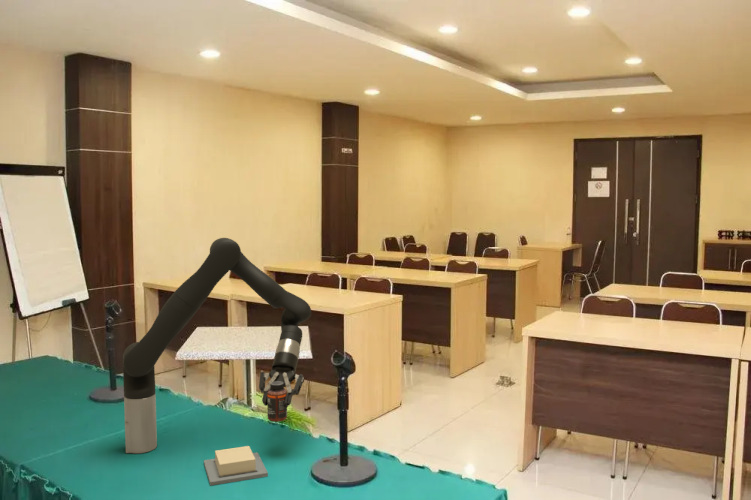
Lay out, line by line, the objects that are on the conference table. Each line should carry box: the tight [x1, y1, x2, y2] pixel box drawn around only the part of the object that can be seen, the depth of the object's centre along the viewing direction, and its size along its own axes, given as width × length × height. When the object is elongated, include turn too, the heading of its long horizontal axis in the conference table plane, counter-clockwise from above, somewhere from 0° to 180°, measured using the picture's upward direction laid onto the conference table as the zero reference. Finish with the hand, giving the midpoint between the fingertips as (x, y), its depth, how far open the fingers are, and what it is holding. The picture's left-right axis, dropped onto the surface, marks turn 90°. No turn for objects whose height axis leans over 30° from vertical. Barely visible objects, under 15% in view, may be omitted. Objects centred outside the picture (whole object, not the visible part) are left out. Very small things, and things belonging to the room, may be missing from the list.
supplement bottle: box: [266, 381, 288, 422], centre depth 194 cm, size 6×6×11 cm
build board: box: [203, 445, 269, 486], centre depth 184 cm, size 16×15×4 cm
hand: (275, 405), depth 192 cm, fingers closed on supplement bottle, 6 cm apart
